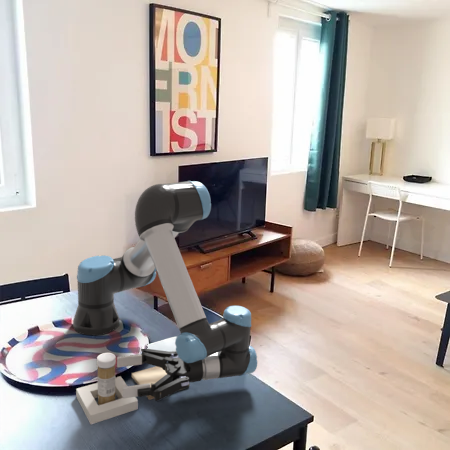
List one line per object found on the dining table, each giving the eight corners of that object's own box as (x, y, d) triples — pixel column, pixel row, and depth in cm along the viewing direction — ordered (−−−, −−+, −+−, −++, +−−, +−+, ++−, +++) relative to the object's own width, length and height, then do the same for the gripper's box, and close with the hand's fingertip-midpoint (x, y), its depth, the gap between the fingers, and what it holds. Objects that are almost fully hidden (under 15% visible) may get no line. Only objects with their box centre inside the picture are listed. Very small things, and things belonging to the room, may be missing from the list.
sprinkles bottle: (113, 395, 121) (113, 350, 118) (117, 406, 117) (117, 359, 114) (95, 399, 119) (95, 353, 116) (99, 410, 115) (98, 363, 112)
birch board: (131, 376, 130) (131, 373, 130) (169, 365, 137) (169, 362, 136) (149, 399, 121) (149, 396, 120) (189, 386, 127) (189, 383, 127)
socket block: (76, 397, 120) (76, 388, 119) (120, 384, 126) (120, 376, 126) (90, 424, 110) (90, 415, 110) (137, 409, 117) (137, 400, 116)
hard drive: (153, 357, 138) (188, 346, 146) (141, 345, 145) (175, 335, 152) (153, 362, 139) (188, 351, 146) (141, 350, 145) (175, 339, 152)
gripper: (213, 407, 113) (125, 421, 106) (188, 354, 136) (115, 363, 129) (215, 380, 111) (126, 393, 104) (189, 331, 134) (115, 339, 127)
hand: (119, 376), depth 117 cm, fingers open, 13 cm apart
